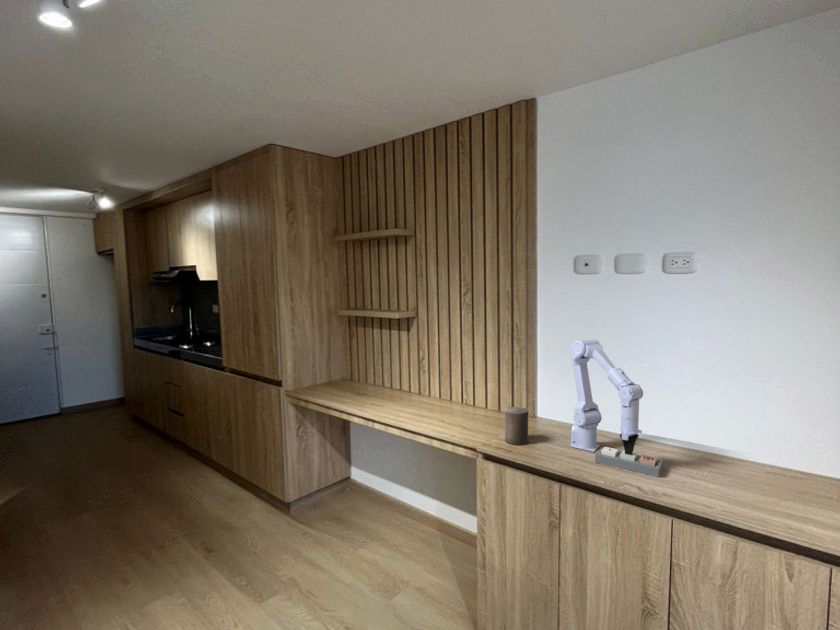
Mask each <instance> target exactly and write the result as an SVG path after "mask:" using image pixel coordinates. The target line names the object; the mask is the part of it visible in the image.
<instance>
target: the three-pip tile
mask: <svg viewBox="0 0 840 630" xmlns="http://www.w3.org/2000/svg"><path fill="white" fill-rule="evenodd" d="M640 456H641V458H640V463H643V464H647V465H652V466H656V465H657V459H658V458H657V457H655V456H649V455H644V454H642V455H640Z"/></svg>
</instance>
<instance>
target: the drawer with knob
mask: <svg viewBox="0 0 840 630" xmlns="http://www.w3.org/2000/svg"><path fill="white" fill-rule="evenodd" d="M618 451H619V448H618V449H617V448H614V447H613V448H612V447H608V446H604V447H603V449H602V451H601V454H603V455H607V456H612V457H616V456H617V455H618Z"/></svg>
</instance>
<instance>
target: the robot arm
mask: <svg viewBox="0 0 840 630" xmlns="http://www.w3.org/2000/svg"><path fill="white" fill-rule="evenodd" d="M571 354H572V357H571V358H572V359H571V361H572V367H573V374H574V379H575V380H574V381H575V388H576V393H577V401H578V403H577V404H576V405H575V406H574V408H573V409H574V414H573V419H574V420H573V421H574V422H575V423H573V424H572V426H571V434H570V435H571V436H570V438H571V439H570V448H575V449H579V450H584V451H587V452H596V451H597V450H598V449H599V447H600V444H597V441H598V440H597V435H598V434H597V433H598V431H597V430H598V426H599V424H600V423H601V422H602V417H603V416H602V413H601V411H600V410H599V405H598V404H597V403H595V402H594V401H593V400H594V399H593V393H592V388H591V382H590V375H589V369H588V363H589V361H590V360H591V359H594V360H595V361H596V362H597V363H598V364H599V365H600V367H601V368H602V369H604V370H605V372H606V373H607V379H608V380H609V382H610V383H611V384H612V385H613V386H614V387H615V389H616V390H617V391H618V392H617V395H618V398H619V399H620V404H621V411H620V413H621V414H620V415H621V417H620V428H619V429H620V430H619V431H620V434H619V438H620V439H621V441H622V445H623V451H625V454H630V455H632V453H634V449H635V445H636V442H637V440H638V438H639V436H640V434H642V433H643V431H642V430H640V429H639V420H640V419H639V416H640V415H639V413H640V400H641V399H642V398H643V396H644V391H643V388H642V386H641V385H640V384H638V383H635V382H634V381H632V380H631V379H630V378H629V377H628V376H627V374H626V373H625V371H624V369H622V368H619V367H616V366H615V365H614V364H613V362H612V360H611V359H610V358H609V357H608V356H607V354H606V353H605V351H604V350H603V345H602V344H601V343H600V341H599V340H598V339H596V338H592V339H584V340H583V339H582V340H575V341H574V342H573V343H572V345H571Z"/></svg>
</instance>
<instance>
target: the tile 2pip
mask: <svg viewBox="0 0 840 630" xmlns="http://www.w3.org/2000/svg"><path fill="white" fill-rule="evenodd" d="M621 452H622V453H621V454H620V458H621V459H625V460H629V461H634V462H635V461H636V460H637V455H638V453H637V452H633V453H632V455H630V454H625V450H622V451H621Z"/></svg>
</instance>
